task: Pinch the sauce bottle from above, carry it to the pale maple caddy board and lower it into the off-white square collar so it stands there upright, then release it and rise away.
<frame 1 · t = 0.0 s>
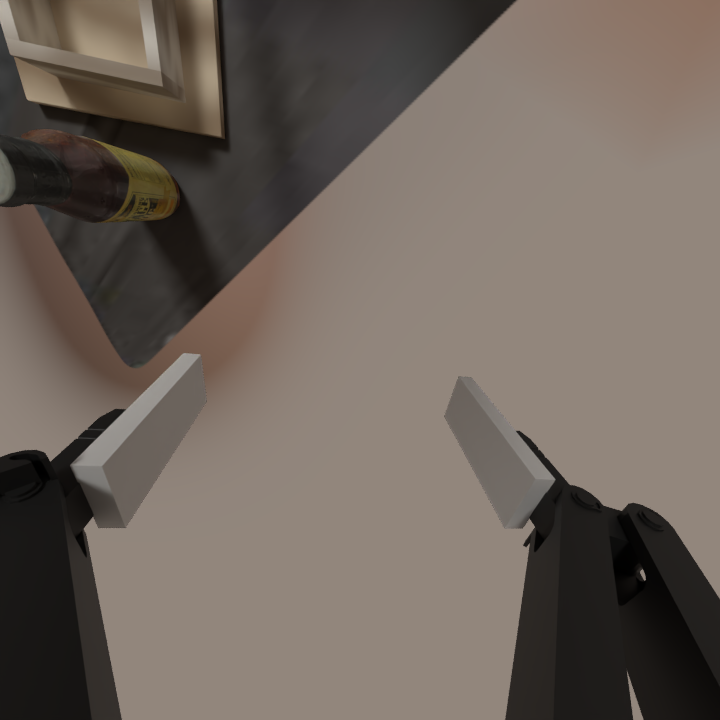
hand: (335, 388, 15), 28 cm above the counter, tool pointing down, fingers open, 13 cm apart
sauce bottle: (157, 189, 33), on the counter
caddy board: (117, 14, 26), on the counter
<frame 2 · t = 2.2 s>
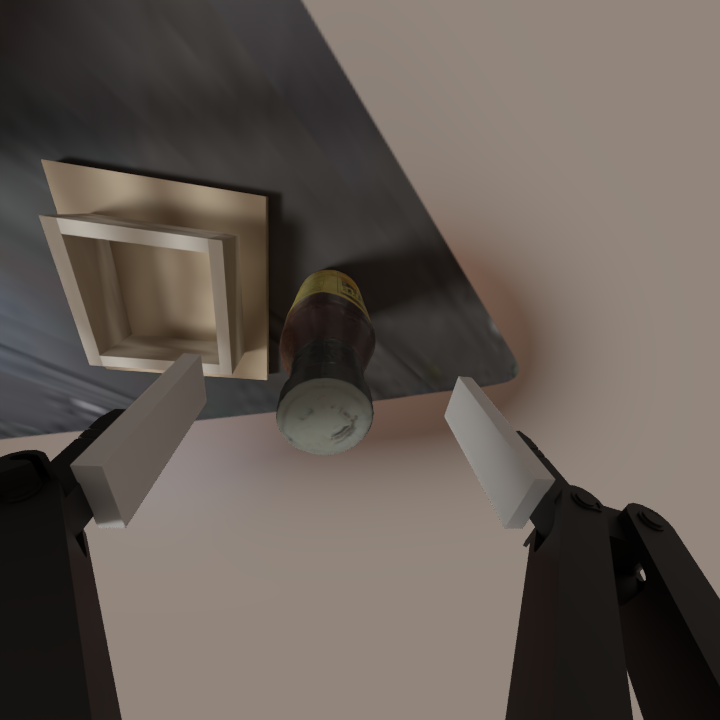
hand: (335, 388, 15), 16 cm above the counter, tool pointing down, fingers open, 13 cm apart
sauce bottle: (329, 295, 29), on the counter
caddy board: (182, 289, 27), on the counter
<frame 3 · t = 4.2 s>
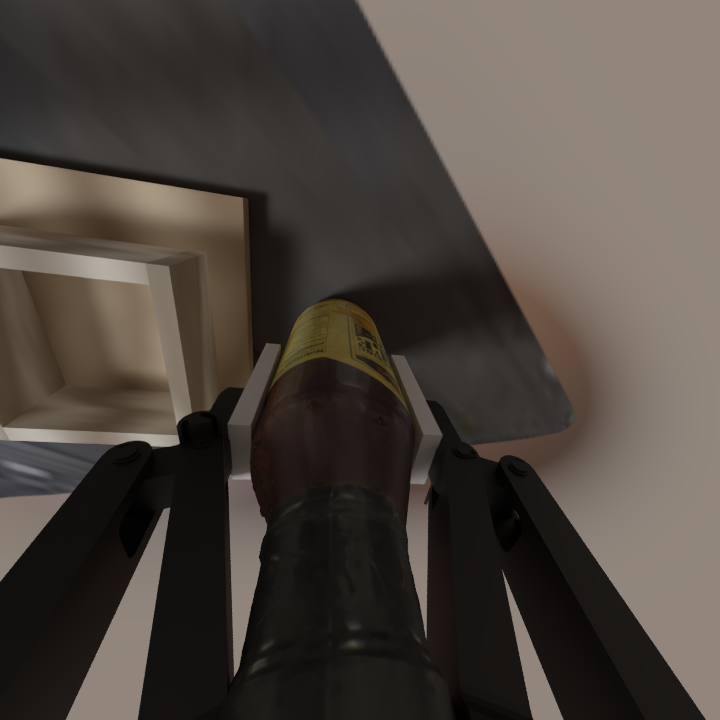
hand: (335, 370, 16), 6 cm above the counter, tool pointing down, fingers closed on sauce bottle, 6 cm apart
sauce bottle: (334, 330, 22), on the counter, touching gripper
caddy board: (134, 324, 20), on the counter
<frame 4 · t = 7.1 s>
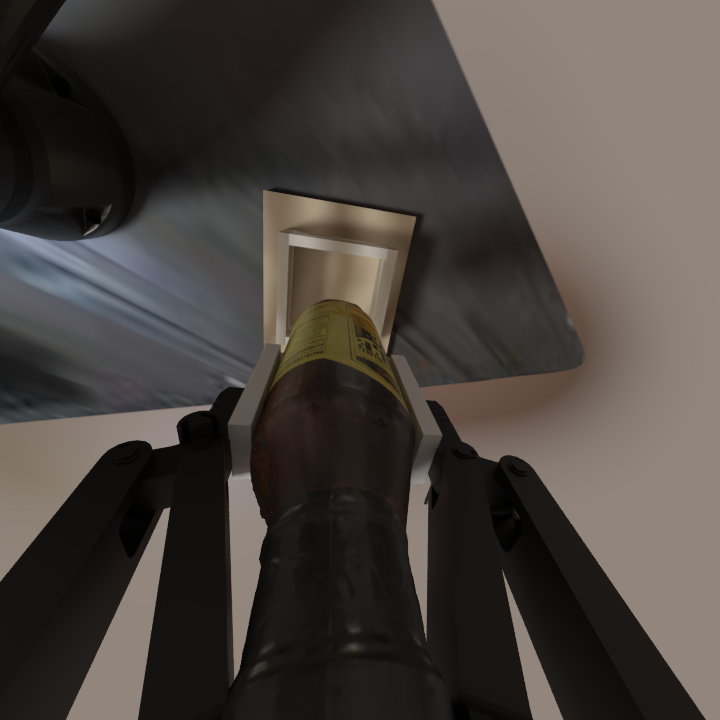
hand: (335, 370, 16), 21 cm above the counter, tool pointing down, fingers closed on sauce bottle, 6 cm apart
sauce bottle: (333, 331, 22), point 15 cm above the counter, touching gripper
caddy board: (333, 287, 35), on the counter
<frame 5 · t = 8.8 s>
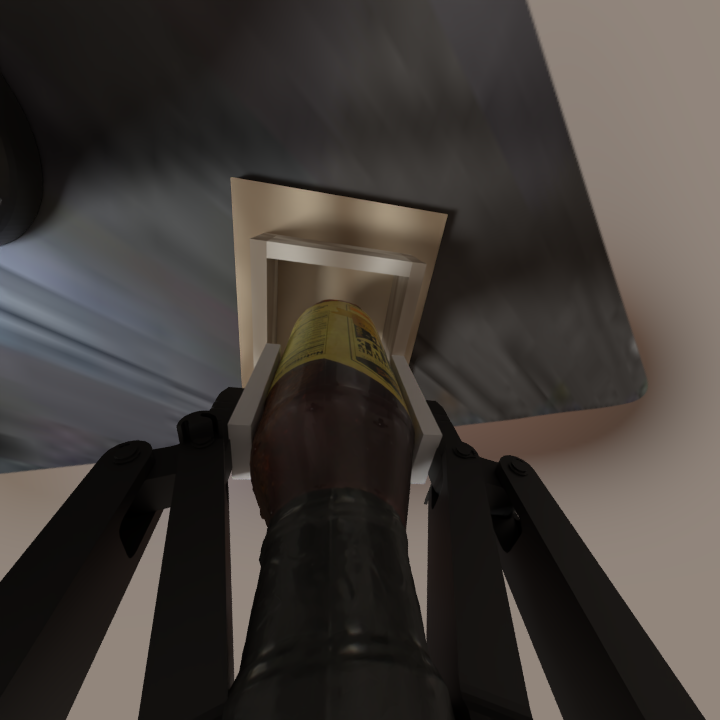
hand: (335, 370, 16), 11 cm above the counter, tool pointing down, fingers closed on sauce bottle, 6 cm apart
sauce bottle: (333, 331, 22), point 5 cm above the counter, touching gripper
caddy board: (332, 309, 26), on the counter
when the fingers open (8 cm above the counter, at t = 10.1 s): sauce bottle drops 1 cm, resting on caddy board.
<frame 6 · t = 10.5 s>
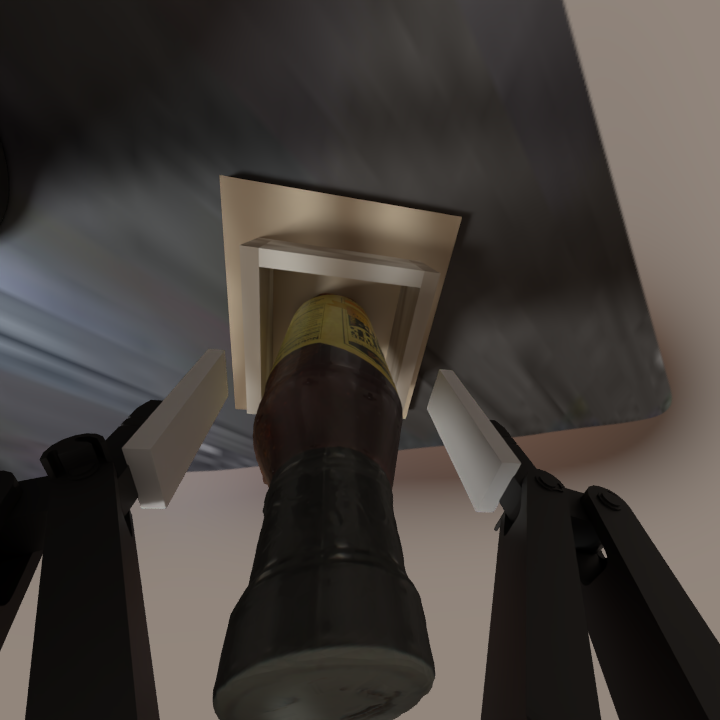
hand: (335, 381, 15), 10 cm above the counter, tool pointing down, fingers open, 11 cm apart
sauce bottle: (330, 324, 23), point 1 cm above the counter, touching caddy board
caddy board: (334, 320, 24), on the counter
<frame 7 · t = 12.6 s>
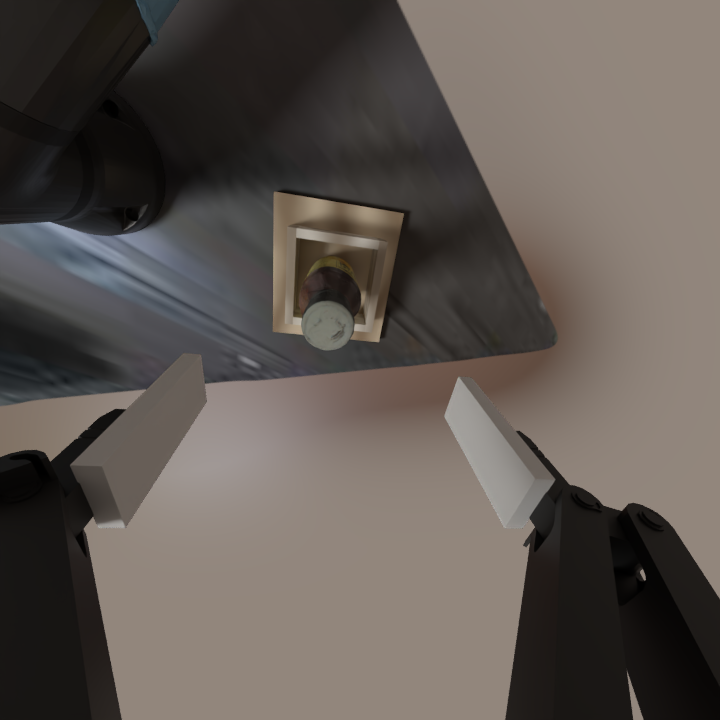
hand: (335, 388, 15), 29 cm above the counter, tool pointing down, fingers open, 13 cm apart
sauce bottle: (331, 276, 39), point 1 cm above the counter, touching caddy board
caddy board: (333, 275, 40), on the counter
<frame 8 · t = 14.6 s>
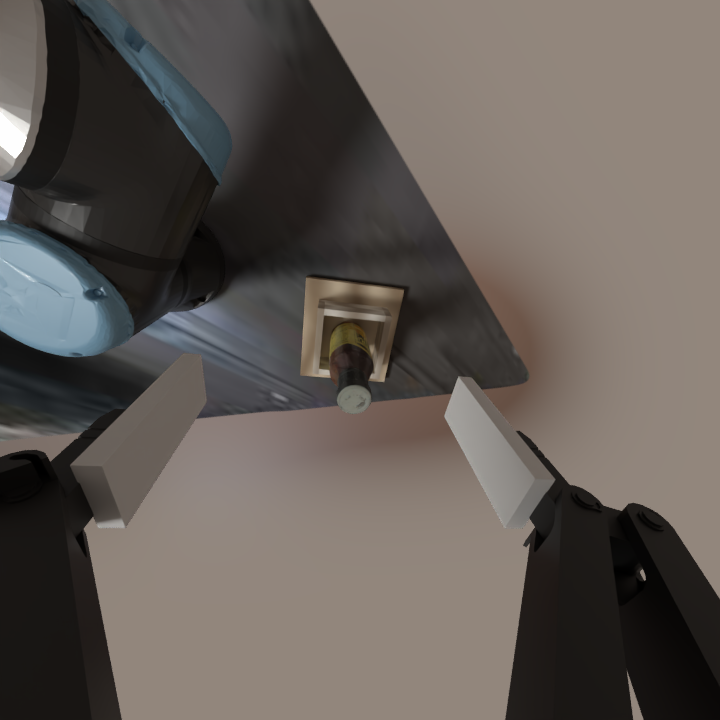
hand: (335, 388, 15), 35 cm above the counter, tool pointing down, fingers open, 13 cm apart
sauce bottle: (347, 334, 50), point 1 cm above the counter, touching caddy board
caddy board: (348, 332, 51), on the counter
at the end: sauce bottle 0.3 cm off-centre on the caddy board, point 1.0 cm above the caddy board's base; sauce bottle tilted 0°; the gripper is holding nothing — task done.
